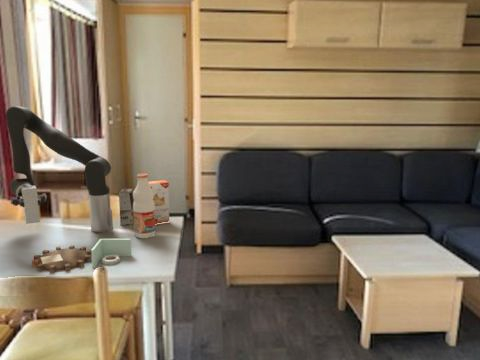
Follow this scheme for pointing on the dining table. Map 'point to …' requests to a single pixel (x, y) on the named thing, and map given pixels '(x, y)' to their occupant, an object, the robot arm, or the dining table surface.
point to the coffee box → (126, 206)
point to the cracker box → (161, 200)
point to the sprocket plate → (62, 259)
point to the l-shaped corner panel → (110, 250)
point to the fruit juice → (143, 208)
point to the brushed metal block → (30, 204)
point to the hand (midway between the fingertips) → (31, 203)
